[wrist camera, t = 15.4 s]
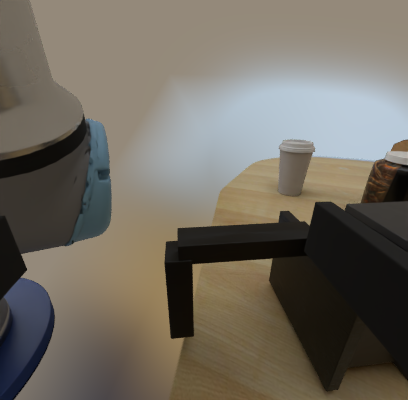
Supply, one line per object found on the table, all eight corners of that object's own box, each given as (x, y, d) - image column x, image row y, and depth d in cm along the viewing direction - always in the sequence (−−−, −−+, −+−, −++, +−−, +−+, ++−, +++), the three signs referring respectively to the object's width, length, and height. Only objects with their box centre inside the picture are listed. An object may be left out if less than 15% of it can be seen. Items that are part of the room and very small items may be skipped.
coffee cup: (312, 197, 64) (324, 144, 58) (281, 198, 63) (289, 145, 57) (295, 185, 73) (304, 138, 67) (267, 186, 72) (274, 139, 66)
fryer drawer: (170, 413, 19) (158, 300, 14) (172, 288, 32) (167, 204, 26) (475, 370, 22) (562, 265, 17) (366, 272, 35) (396, 194, 30)
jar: (379, 230, 48) (405, 161, 42) (348, 206, 59) (365, 149, 53) (435, 231, 48) (469, 162, 42) (394, 207, 58) (417, 149, 52)
